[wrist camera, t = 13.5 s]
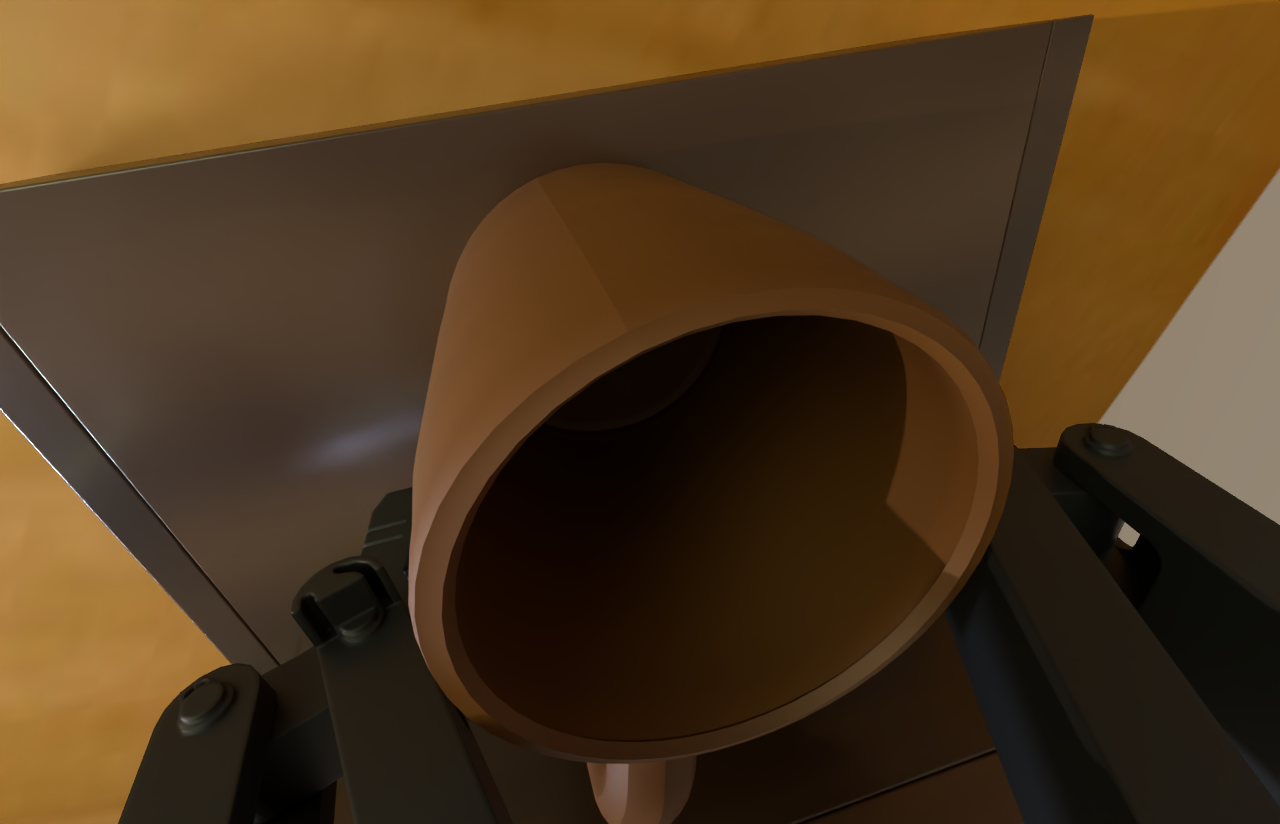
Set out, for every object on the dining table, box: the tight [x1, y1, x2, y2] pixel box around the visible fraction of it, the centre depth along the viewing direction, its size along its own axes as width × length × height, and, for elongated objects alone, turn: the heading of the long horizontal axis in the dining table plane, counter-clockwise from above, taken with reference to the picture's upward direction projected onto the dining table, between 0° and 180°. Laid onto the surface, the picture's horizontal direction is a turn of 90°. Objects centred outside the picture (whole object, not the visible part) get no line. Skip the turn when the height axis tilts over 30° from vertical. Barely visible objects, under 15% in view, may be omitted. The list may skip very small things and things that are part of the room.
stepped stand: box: [0, 14, 1094, 824], centre depth 16 cm, size 22×27×16 cm
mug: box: [408, 163, 1014, 824], centre depth 11 cm, size 12×8×9 cm, turn 172°
